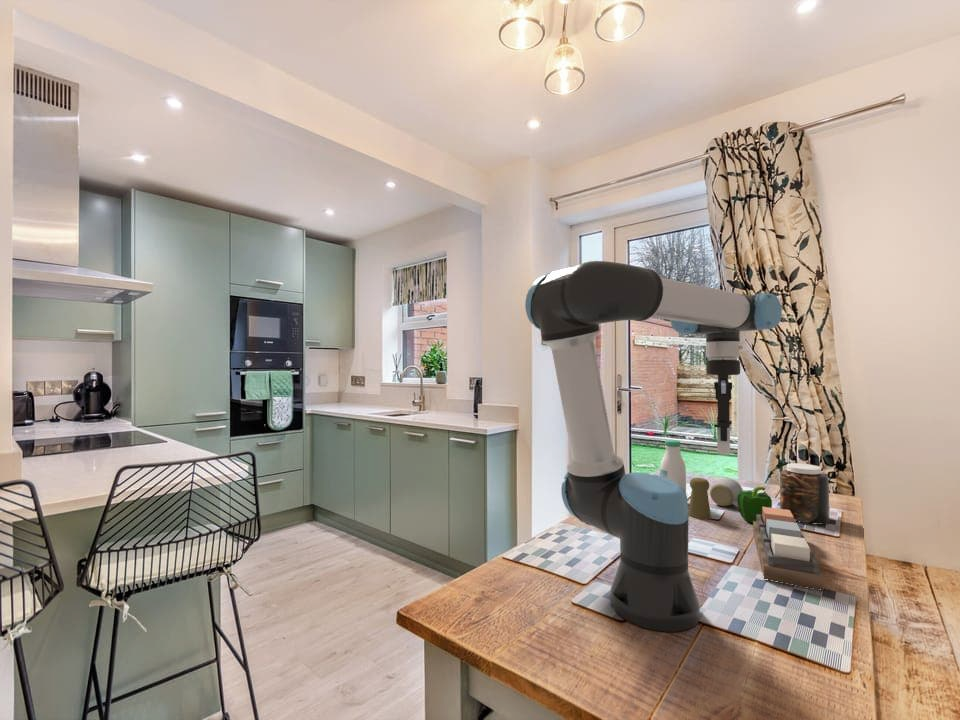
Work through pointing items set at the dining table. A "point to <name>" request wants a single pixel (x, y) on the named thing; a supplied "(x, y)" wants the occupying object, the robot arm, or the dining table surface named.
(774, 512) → the terracotta block
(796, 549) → the cream block
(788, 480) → the jar
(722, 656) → the dining table surface
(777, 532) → the slate block
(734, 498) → the ceramic mug
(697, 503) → the pepper mill
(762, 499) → the bell pepper
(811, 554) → the block tray
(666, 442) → the milk bottle
